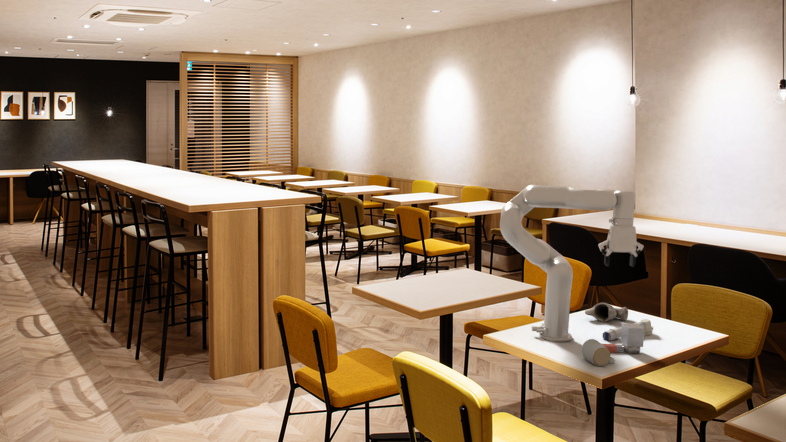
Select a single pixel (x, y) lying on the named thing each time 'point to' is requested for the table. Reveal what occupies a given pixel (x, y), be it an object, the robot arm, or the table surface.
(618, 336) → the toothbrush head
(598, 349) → the ceramic mug
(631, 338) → the brushed grey cube
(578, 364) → the table surface
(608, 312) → the grey clay vessel
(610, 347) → the ratchet
